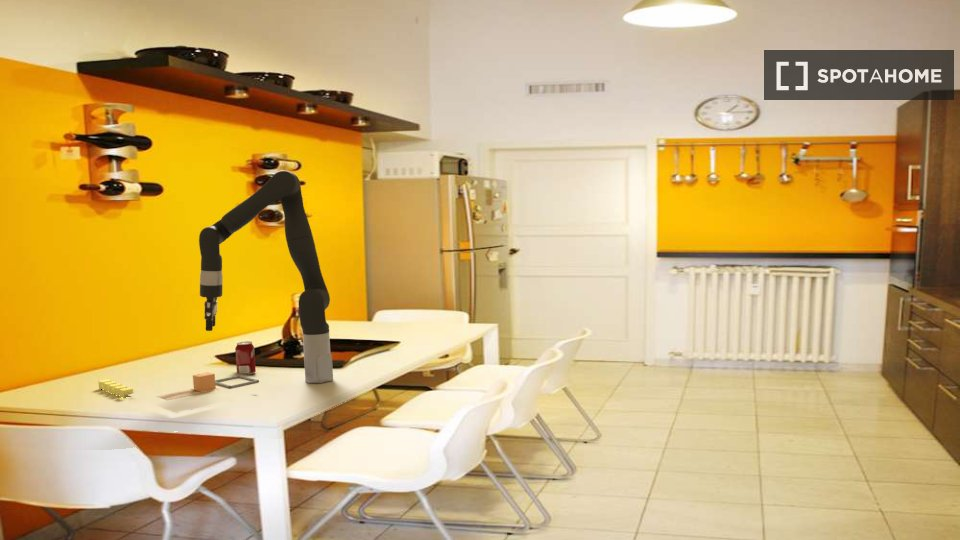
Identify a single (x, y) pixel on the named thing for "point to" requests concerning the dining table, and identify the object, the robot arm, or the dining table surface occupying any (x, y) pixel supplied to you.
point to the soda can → (245, 358)
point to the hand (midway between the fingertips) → (210, 328)
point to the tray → (236, 384)
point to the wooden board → (182, 394)
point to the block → (204, 381)
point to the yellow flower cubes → (115, 388)
